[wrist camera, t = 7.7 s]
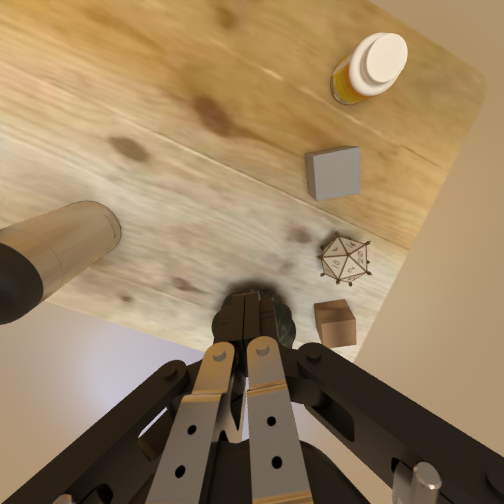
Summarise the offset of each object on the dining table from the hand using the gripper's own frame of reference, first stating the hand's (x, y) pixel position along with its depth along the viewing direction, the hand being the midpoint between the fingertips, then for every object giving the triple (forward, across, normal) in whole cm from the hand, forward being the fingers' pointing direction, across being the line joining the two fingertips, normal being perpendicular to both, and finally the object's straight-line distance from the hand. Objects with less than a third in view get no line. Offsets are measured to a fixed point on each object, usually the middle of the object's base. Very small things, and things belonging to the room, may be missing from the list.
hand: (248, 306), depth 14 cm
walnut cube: (+29, -11, +26) cm, 40 cm away
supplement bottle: (+29, -16, -13) cm, 36 cm away
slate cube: (+29, -12, -2) cm, 31 cm away
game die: (+29, -13, +12) cm, 34 cm away
